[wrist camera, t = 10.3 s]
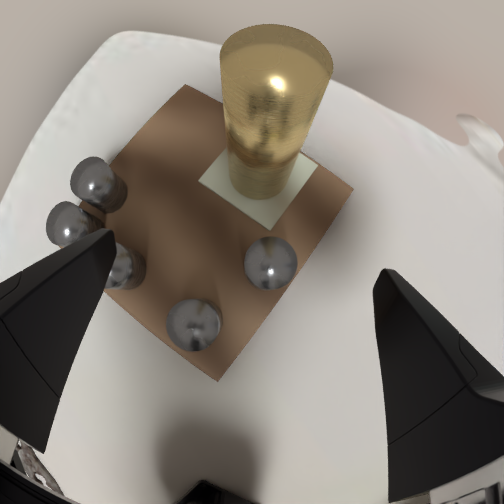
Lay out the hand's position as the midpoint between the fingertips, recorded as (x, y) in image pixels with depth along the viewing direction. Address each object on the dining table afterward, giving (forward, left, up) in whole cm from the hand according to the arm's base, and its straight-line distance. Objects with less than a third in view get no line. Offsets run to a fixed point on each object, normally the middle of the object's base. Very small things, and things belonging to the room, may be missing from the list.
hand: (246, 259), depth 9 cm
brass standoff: (+7, +4, -11) cm, 14 cm away
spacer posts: (-2, +6, -11) cm, 13 cm away
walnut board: (+2, +6, -12) cm, 14 cm away
